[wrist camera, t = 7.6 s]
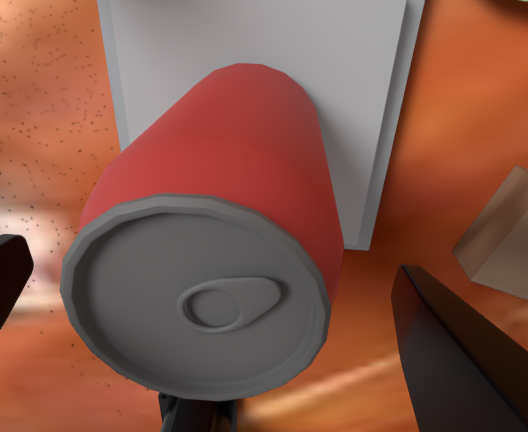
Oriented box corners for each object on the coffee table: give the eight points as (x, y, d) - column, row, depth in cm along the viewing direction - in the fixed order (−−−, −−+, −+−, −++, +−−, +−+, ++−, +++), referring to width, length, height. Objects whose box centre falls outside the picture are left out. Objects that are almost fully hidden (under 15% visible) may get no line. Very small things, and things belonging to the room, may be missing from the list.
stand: (366, 240, 23) (371, 260, 21) (139, 224, 24) (127, 242, 22) (425, -35, 16) (441, -38, 14) (99, -49, 16) (76, -54, 15)
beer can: (340, 166, 19) (399, 382, 8) (223, 213, 20) (151, 437, 10) (285, 32, 16) (271, 102, 5) (155, 99, 18) (-43, 249, 7)
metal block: (507, 268, 24) (533, 302, 21) (450, 249, 23) (469, 280, 21) (578, 187, 21) (618, 214, 18) (513, 163, 20) (546, 187, 18)
